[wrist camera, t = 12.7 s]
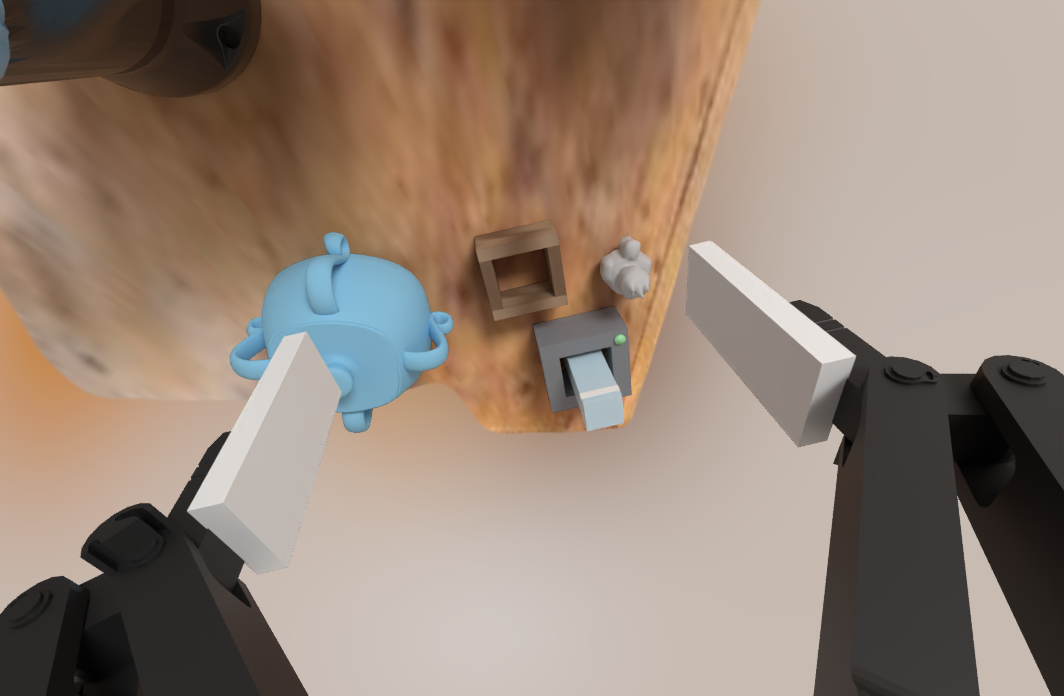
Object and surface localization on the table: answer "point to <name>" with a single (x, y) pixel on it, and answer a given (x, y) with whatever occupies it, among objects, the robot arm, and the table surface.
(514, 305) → the holster
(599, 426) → the plug
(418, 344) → the decorative pot
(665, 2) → the table surface
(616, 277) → the rubber duck
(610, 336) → the port
